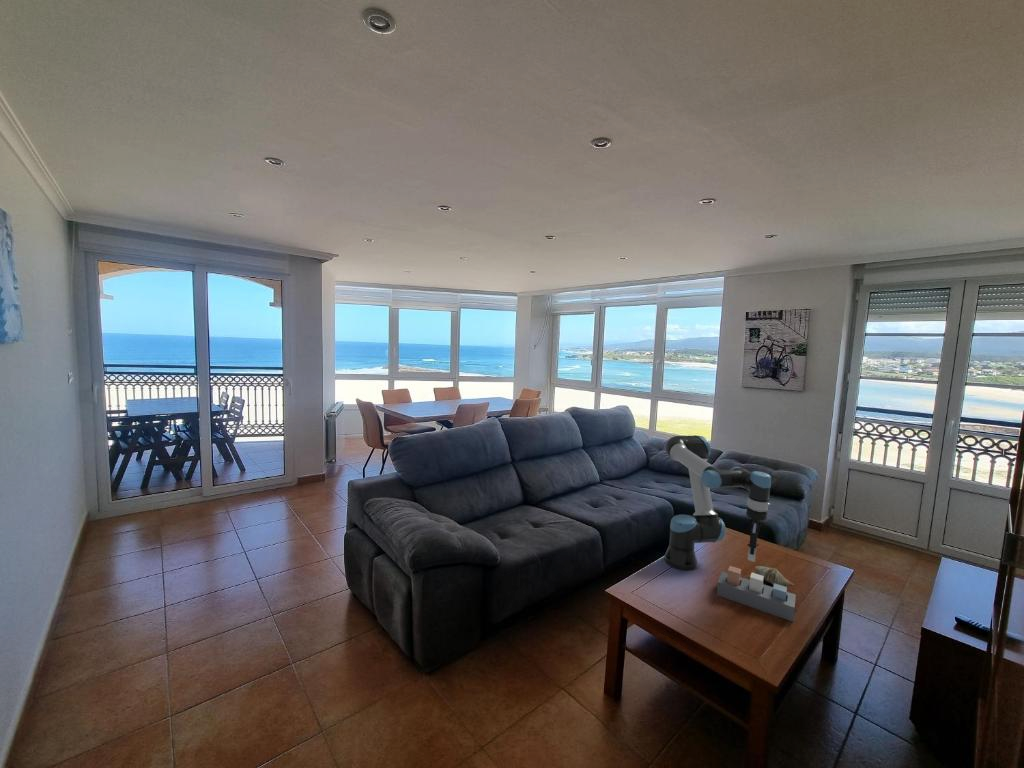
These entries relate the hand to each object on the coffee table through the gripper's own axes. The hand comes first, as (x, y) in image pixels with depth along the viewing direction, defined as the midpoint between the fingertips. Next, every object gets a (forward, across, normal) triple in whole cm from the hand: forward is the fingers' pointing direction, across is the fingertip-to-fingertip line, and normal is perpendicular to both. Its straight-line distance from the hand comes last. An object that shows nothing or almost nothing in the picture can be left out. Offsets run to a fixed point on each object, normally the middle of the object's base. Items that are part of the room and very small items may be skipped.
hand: (751, 559), depth 177 cm
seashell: (+18, +17, -9) cm, 27 cm away
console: (+17, -1, -3) cm, 18 cm away
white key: (+13, -1, -3) cm, 14 cm away
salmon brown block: (+13, -1, +6) cm, 14 cm away
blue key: (+15, -2, -12) cm, 19 cm away
